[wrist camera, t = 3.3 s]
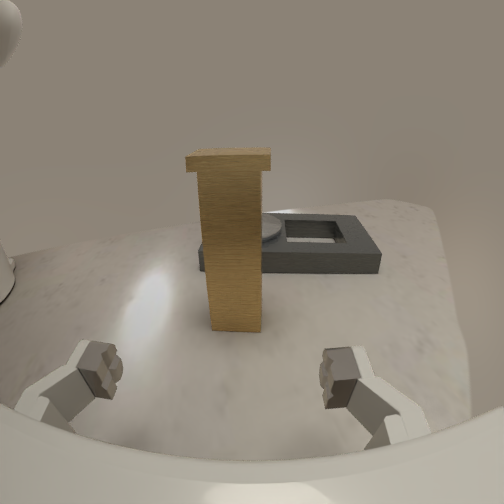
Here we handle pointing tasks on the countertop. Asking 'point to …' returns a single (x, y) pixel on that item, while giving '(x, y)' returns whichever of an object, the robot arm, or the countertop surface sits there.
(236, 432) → the countertop surface
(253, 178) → the wedge pin
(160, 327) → the countertop surface
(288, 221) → the gray socket block
